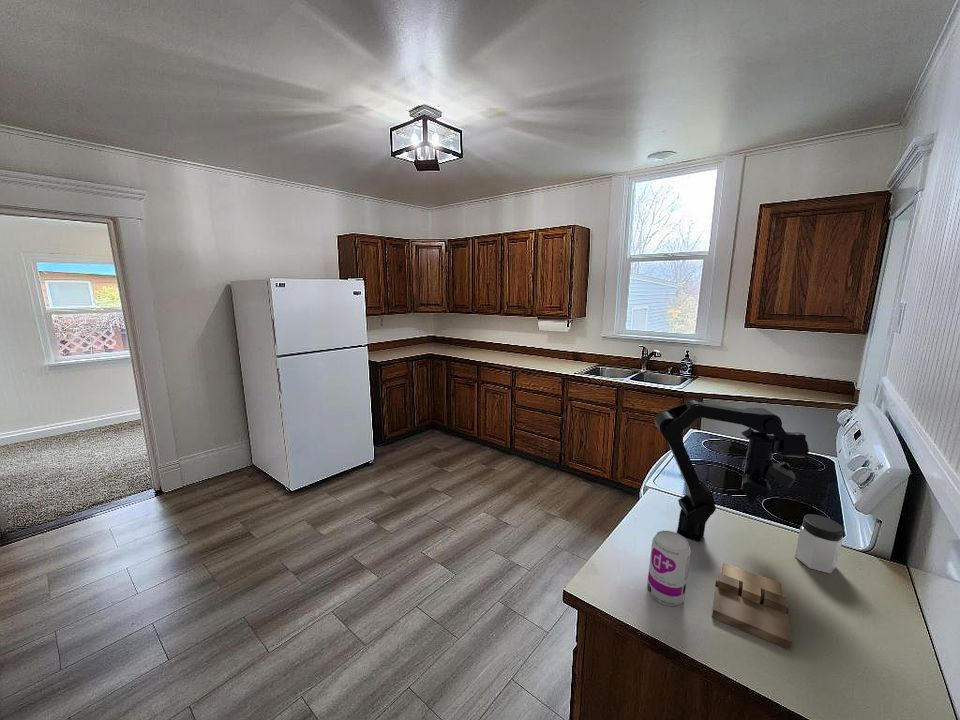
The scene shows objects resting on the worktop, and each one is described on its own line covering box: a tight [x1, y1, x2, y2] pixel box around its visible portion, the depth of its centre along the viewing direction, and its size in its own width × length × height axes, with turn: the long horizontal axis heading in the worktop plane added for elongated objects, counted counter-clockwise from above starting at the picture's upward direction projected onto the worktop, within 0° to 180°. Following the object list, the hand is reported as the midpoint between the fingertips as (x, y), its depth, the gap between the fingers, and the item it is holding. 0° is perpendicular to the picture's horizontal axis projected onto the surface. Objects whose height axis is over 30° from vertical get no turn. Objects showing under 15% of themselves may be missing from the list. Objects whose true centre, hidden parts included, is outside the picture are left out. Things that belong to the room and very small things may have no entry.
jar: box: [794, 513, 845, 574], centre depth 105 cm, size 9×8×12 cm
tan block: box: [720, 562, 784, 605], centre depth 94 cm, size 12×8×4 cm, turn 56°
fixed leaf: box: [711, 573, 792, 650], centre depth 89 cm, size 14×11×4 cm
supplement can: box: [646, 530, 692, 607], centre depth 93 cm, size 8×8×15 cm
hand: (751, 503), depth 113 cm, fingers closed
